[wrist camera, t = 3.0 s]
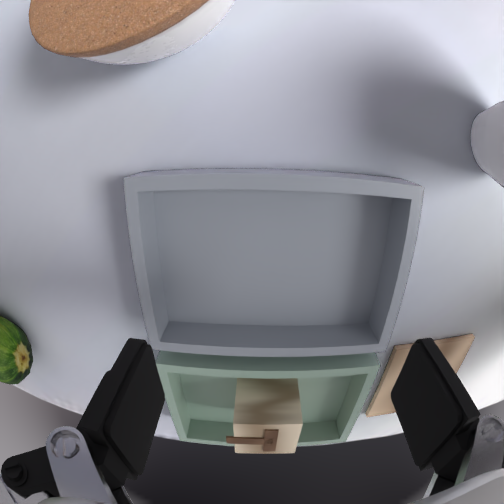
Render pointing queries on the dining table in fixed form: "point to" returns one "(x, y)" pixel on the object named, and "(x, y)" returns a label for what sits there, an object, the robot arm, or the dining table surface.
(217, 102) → the dining table surface
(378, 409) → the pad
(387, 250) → the slate tray
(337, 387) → the green tray
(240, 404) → the letter cube
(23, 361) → the vegetable
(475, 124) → the cup
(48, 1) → the lidded jar
